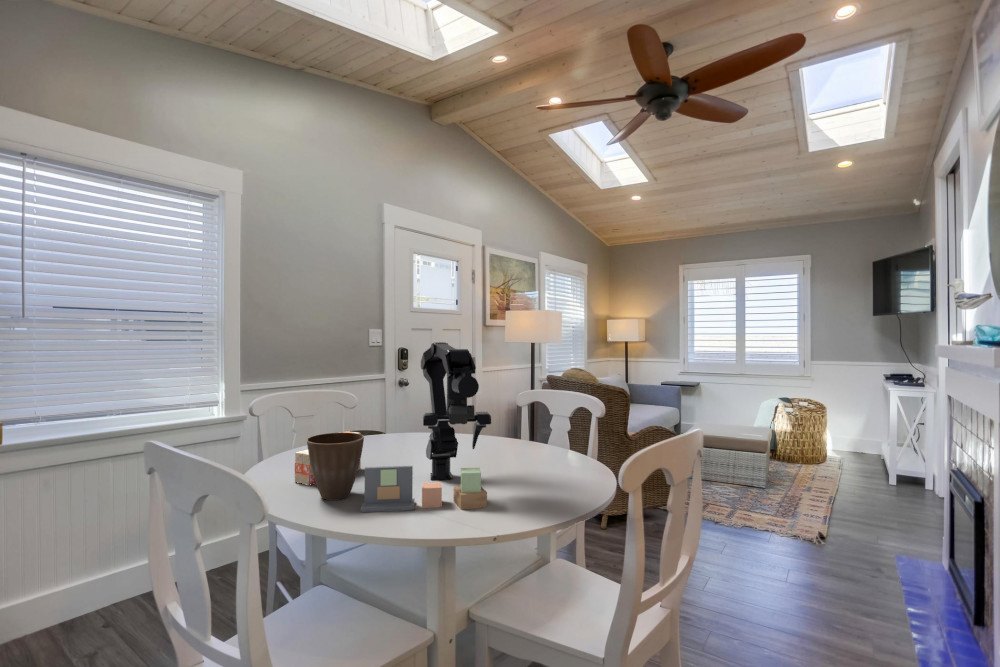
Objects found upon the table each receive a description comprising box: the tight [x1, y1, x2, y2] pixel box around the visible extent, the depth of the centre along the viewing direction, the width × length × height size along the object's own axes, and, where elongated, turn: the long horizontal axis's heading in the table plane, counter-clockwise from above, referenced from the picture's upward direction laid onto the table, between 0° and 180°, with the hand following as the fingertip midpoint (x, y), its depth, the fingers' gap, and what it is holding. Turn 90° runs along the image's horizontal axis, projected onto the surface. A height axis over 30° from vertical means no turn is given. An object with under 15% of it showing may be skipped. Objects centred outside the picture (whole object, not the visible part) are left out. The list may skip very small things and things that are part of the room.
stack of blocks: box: [294, 431, 362, 486], centre depth 159 cm, size 21×6×12 cm, turn 152°
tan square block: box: [453, 485, 488, 510], centre depth 133 cm, size 7×7×4 cm
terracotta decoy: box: [421, 481, 443, 509], centre depth 132 cm, size 5×5×5 cm
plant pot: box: [306, 432, 365, 501], centre depth 139 cm, size 15×15×16 cm
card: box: [360, 465, 416, 513], centre depth 130 cm, size 6×13×10 cm, turn 98°
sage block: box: [460, 467, 482, 493], centre depth 133 cm, size 5×5×5 cm
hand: (456, 449), depth 142 cm, fingers open, 9 cm apart
